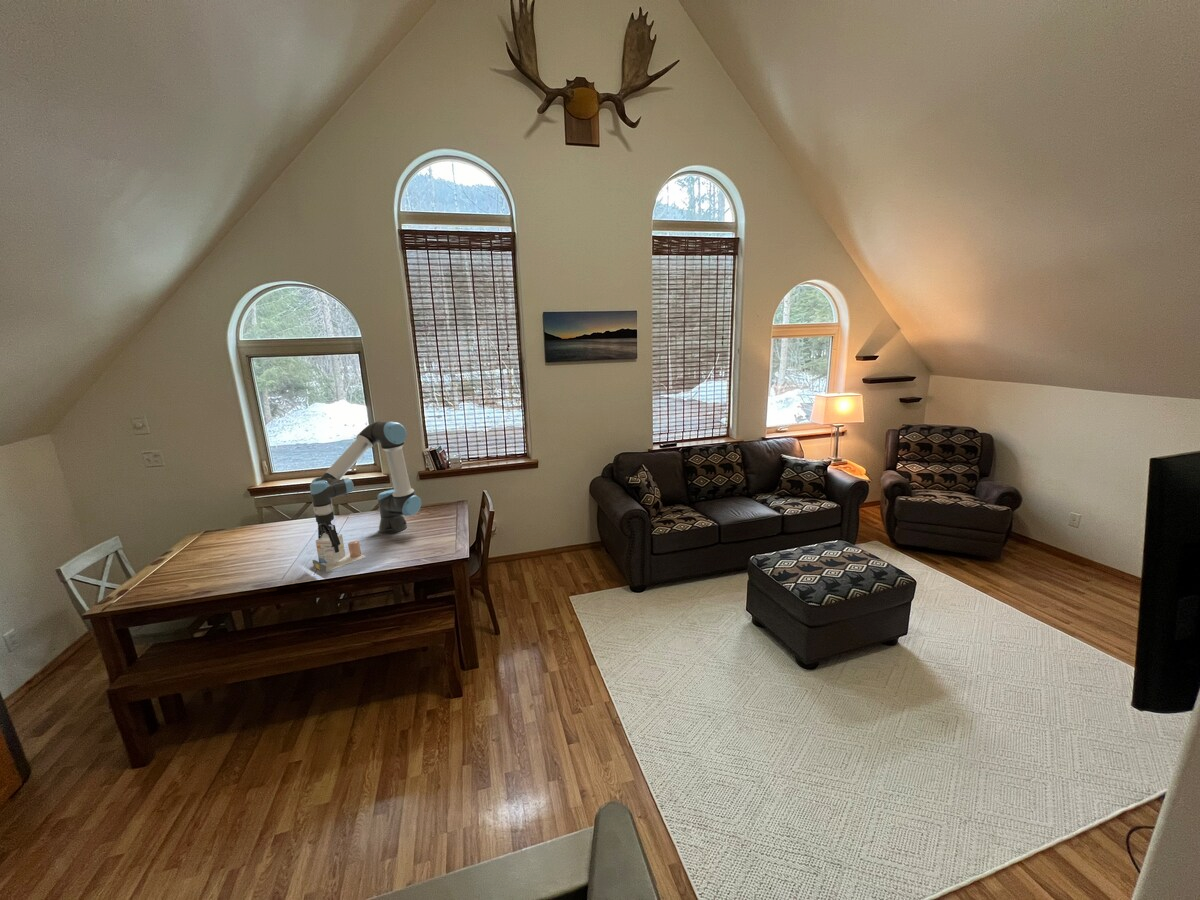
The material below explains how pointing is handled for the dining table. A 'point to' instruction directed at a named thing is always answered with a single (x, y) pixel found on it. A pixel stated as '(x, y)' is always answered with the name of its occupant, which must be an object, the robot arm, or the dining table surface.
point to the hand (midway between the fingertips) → (331, 555)
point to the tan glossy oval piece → (354, 549)
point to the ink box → (328, 549)
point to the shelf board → (330, 566)
